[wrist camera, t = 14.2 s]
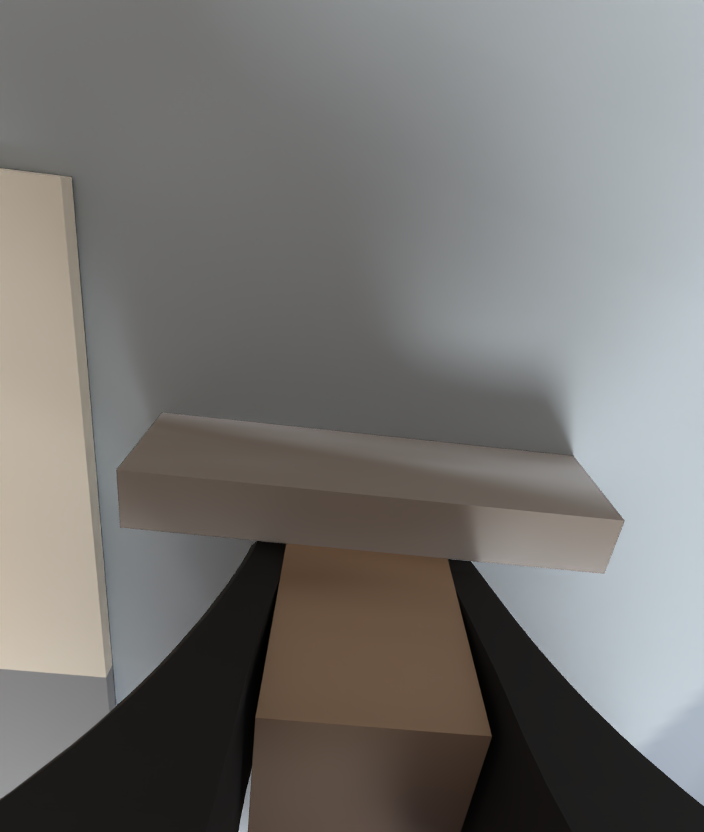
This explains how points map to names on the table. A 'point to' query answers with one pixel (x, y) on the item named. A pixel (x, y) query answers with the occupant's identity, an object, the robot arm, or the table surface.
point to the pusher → (366, 598)
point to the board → (46, 488)
